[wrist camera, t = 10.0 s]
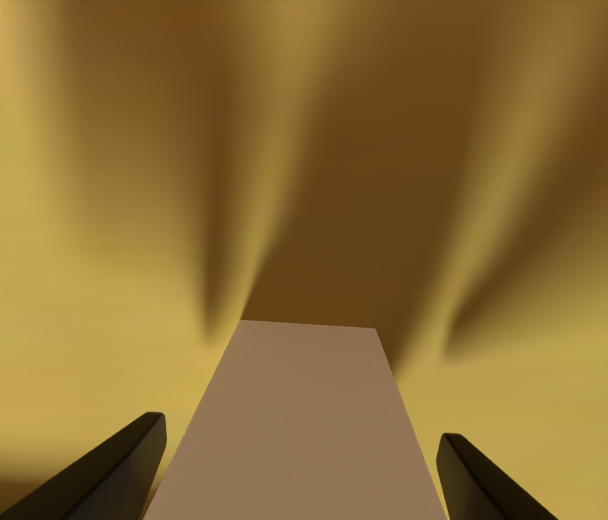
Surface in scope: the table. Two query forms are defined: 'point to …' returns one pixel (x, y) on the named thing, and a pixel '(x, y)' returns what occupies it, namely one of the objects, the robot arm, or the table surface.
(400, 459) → the plug
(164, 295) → the table surface
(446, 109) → the table surface
